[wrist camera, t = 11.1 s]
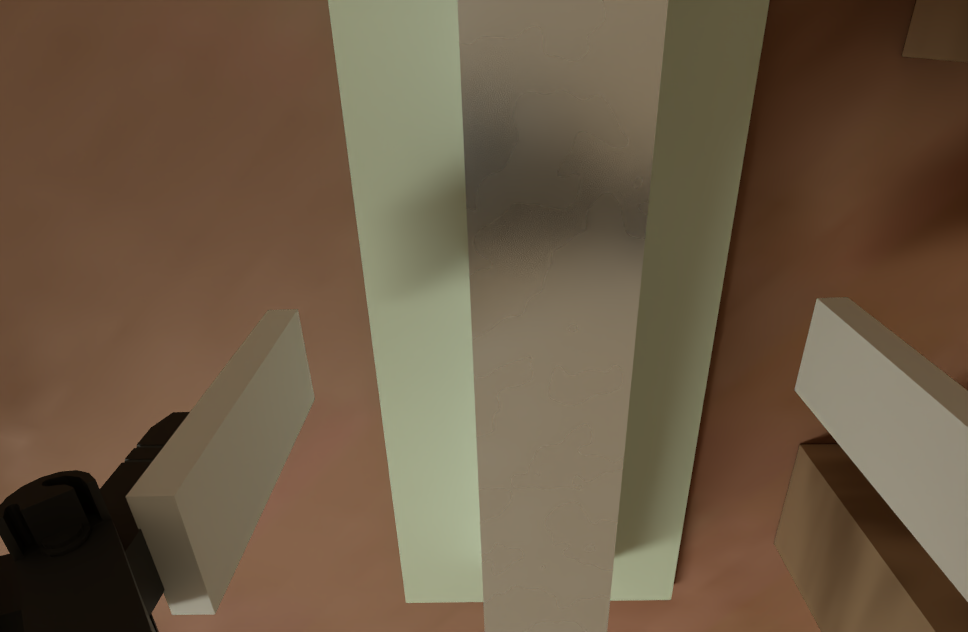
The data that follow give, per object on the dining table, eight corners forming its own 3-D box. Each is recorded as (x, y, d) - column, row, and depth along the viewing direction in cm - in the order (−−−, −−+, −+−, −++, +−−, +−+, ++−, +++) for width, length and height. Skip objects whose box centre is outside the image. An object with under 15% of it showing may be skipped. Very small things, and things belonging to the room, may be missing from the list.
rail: (586, 566, 24) (603, 664, 20) (486, 567, 24) (486, 665, 20) (640, -205, 13) (696, -290, 9) (457, -198, 13) (445, -279, 10)
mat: (407, 590, 25) (406, 602, 25) (295, -301, 13) (287, -315, 12) (666, 587, 25) (670, 599, 25) (811, -325, 13) (825, -339, 12)
